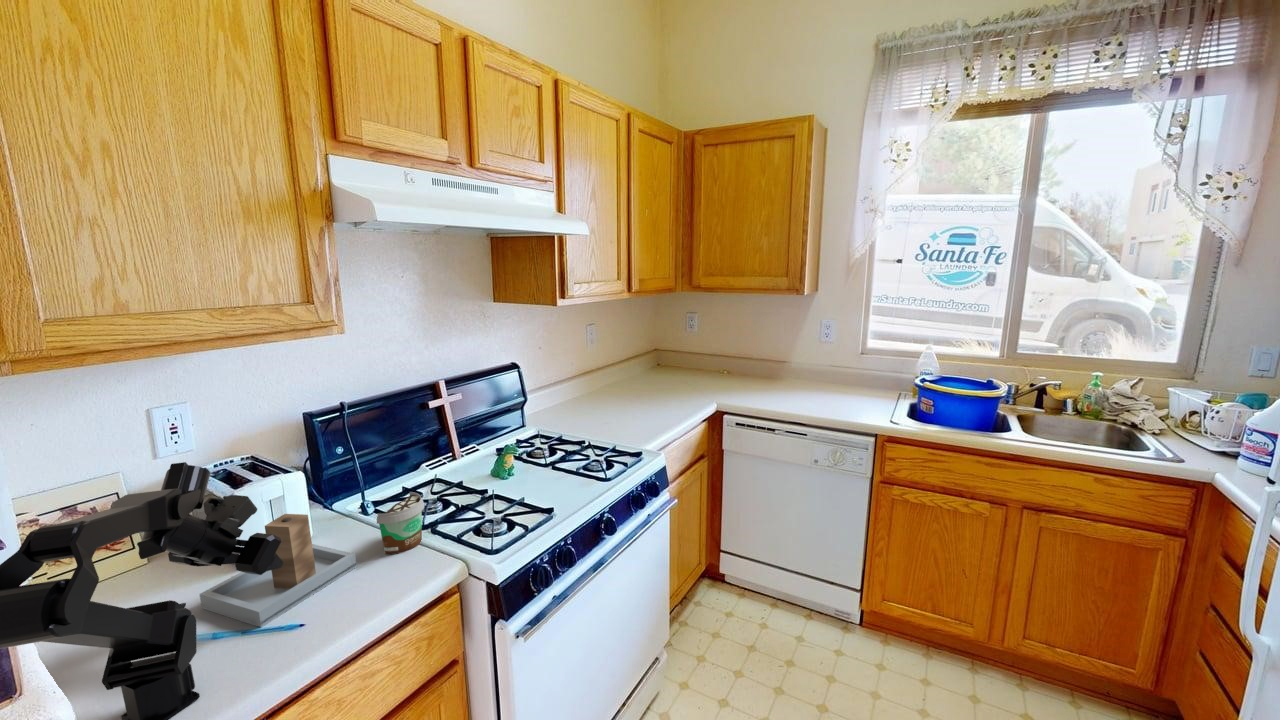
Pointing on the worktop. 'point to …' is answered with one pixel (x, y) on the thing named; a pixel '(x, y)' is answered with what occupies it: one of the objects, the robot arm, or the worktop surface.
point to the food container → (402, 525)
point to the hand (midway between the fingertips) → (260, 562)
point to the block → (292, 550)
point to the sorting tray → (274, 589)
